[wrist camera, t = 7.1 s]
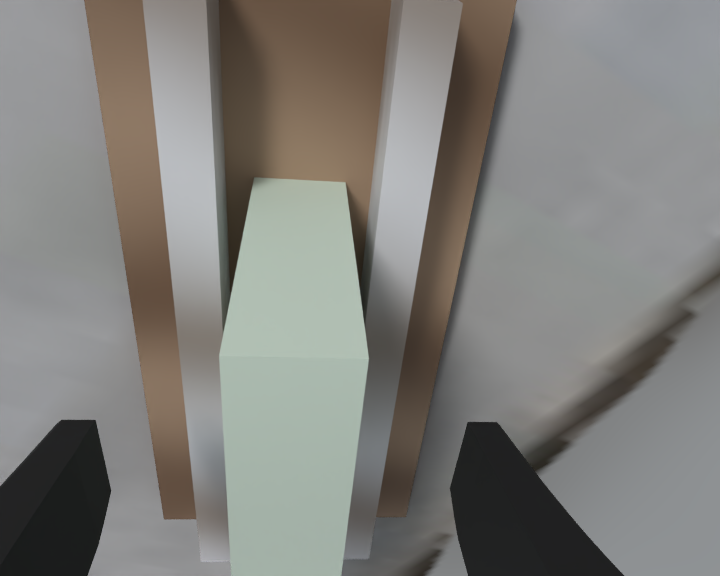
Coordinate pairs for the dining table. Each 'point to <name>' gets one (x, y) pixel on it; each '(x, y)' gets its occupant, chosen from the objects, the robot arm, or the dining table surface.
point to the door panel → (292, 381)
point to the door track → (299, 162)
